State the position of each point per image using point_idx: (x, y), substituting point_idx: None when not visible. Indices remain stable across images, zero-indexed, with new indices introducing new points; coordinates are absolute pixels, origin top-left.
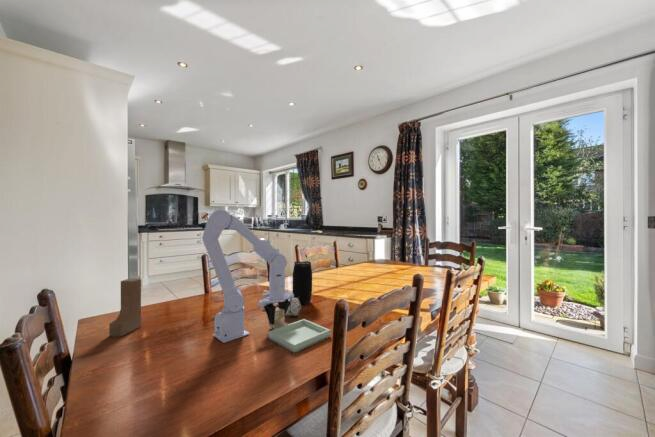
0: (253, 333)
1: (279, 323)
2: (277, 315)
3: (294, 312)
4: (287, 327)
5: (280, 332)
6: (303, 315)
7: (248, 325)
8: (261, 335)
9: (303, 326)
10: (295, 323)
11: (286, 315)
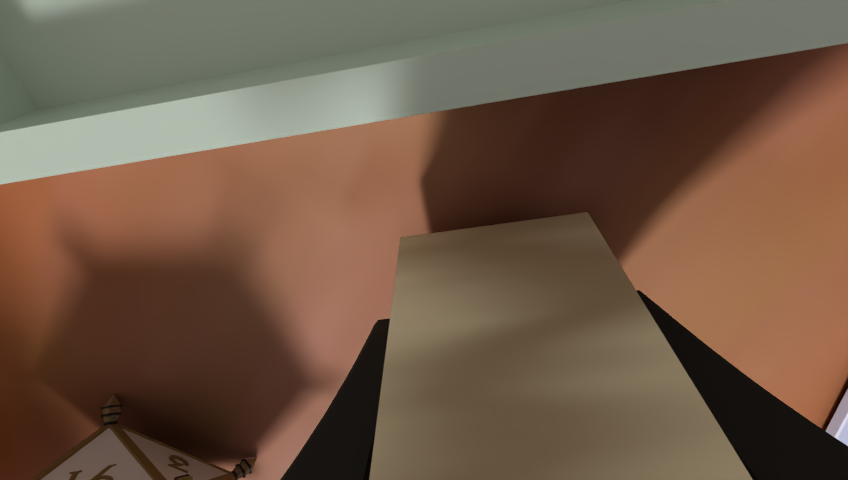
0: (820, 295)
1: (507, 265)
2: (621, 408)
3: (113, 466)
4: (439, 44)
5: (622, 5)
6: (26, 405)
7: None
8: (811, 187)
9: (57, 21)
10: (200, 92)
11: (235, 469)
